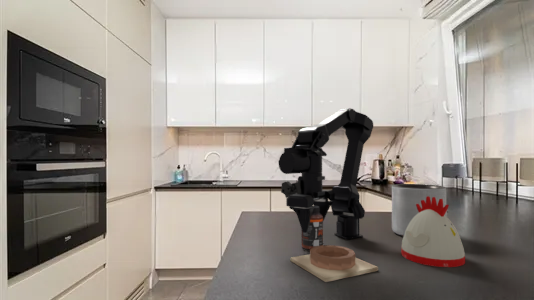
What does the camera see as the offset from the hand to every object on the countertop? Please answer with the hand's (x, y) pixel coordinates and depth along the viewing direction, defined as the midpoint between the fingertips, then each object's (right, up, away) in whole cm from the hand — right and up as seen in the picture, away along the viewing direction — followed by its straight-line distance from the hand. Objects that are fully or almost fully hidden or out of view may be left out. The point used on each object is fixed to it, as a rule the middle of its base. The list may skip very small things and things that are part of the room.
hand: (312, 229), depth 85 cm
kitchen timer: (+28, -5, -9) cm, 30 cm away
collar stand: (+2, -5, -15) cm, 15 cm away
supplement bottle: (0, -5, 0) cm, 5 cm away
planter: (+36, -6, +14) cm, 39 cm away
